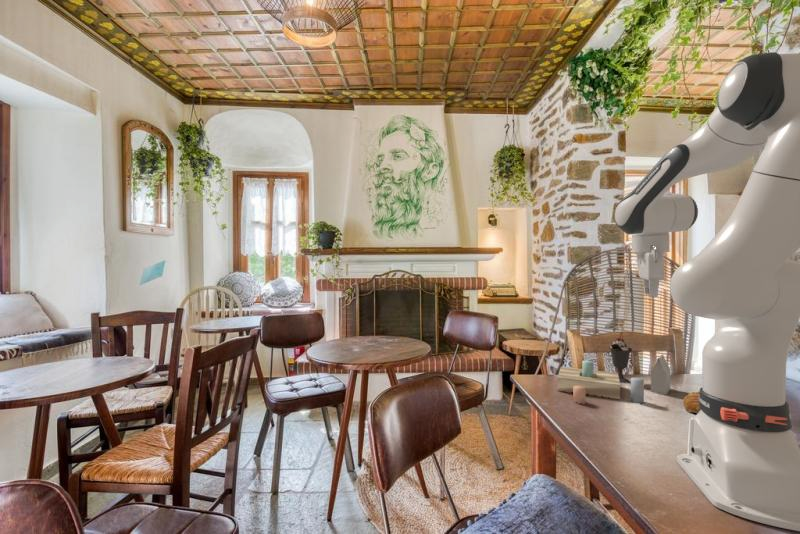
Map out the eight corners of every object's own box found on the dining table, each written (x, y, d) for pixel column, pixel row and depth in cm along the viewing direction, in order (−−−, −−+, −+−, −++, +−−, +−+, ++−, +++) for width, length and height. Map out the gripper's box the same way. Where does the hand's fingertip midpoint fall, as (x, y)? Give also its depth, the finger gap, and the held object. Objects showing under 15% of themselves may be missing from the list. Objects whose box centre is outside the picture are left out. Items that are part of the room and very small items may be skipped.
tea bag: (670, 388, 114) (670, 355, 114) (666, 394, 109) (666, 359, 109) (655, 386, 116) (655, 353, 116) (650, 391, 111) (651, 357, 111)
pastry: (713, 419, 92) (713, 404, 92) (679, 412, 97) (679, 397, 97) (717, 408, 99) (717, 393, 99) (685, 402, 104) (684, 388, 104)
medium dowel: (644, 404, 102) (644, 381, 102) (631, 402, 103) (631, 380, 103) (643, 400, 105) (643, 378, 105) (630, 398, 106) (630, 377, 106)
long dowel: (593, 390, 113) (593, 363, 113) (582, 389, 114) (582, 362, 114) (593, 387, 115) (593, 361, 115) (582, 386, 117) (582, 360, 117)
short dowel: (585, 404, 102) (585, 389, 102) (573, 403, 103) (572, 388, 103) (585, 401, 105) (585, 386, 105) (573, 399, 106) (573, 385, 106)
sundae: (625, 376, 125) (625, 331, 125) (636, 383, 119) (636, 335, 118) (604, 376, 126) (604, 330, 126) (614, 383, 119) (613, 335, 119)
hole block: (620, 399, 106) (620, 384, 106) (557, 390, 113) (557, 377, 113) (617, 386, 117) (617, 372, 116) (560, 379, 124) (560, 366, 124)
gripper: (671, 244, 97) (671, 299, 97) (657, 247, 115) (658, 293, 116) (641, 245, 100) (642, 298, 100) (633, 247, 118) (633, 292, 118)
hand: (650, 295), depth 108 cm, fingers open, 8 cm apart
